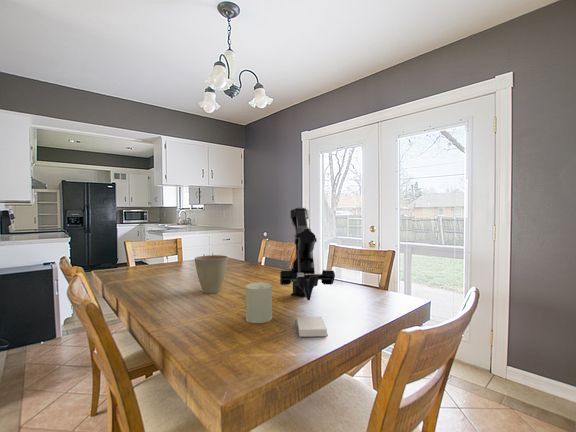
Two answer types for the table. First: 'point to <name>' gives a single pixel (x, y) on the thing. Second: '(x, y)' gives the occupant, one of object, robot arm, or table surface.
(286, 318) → the table surface
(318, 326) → the tile
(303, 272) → the robot arm
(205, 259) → the plant pot
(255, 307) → the can
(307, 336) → the mat
